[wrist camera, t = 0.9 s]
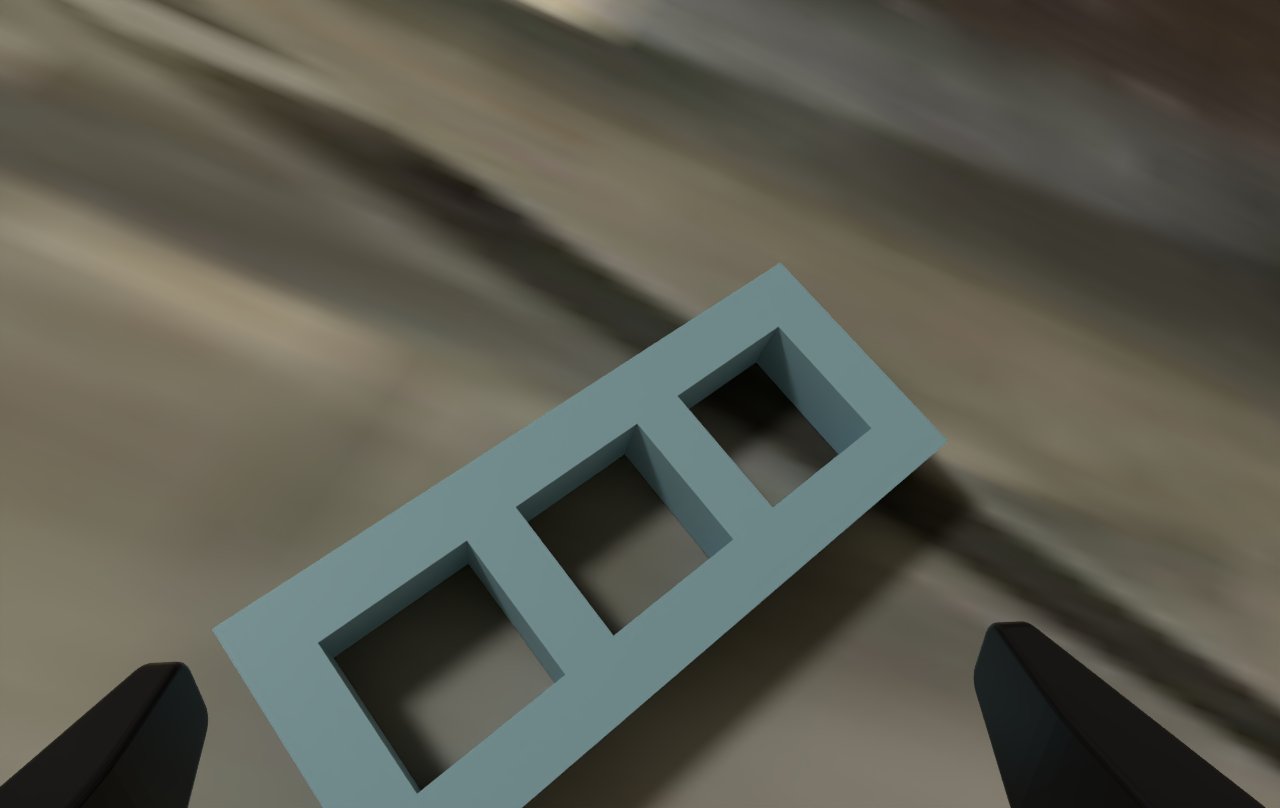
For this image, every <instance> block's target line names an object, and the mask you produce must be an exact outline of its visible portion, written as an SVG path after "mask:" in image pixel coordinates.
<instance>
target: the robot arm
mask: <svg viewBox="0 0 1280 808" xmlns="http://www.w3.org/2000/svg"><path fill="white" fill-rule="evenodd" d="M974 686H975V691H976V694H977V698H978V701H979V704H980V708H981V711H982V714H983V718H984V721H985V724H986V728H987V731H988V734H989V738H990V741H991V744H992V748H993V751H994V754H995V758H996V761H997V764H998V768H999V771H1000V774H1001V778H1002V781H1003V784H1004V788H1005V791H1006V794H1007V798H1008V801H1009V804H1010V807H1011V808H1265V807H1264V806H1263V805H1262V804H1260V803H1259V802H1258V801H1257V800H1255V799H1254V798H1253V797H1251V796H1250V795H1249V794H1248V793H1246V792H1245V791H1244V790H1243V789H1241V788H1240V787H1239V786H1237V785H1236V784H1235V783H1234V782H1232V781H1231V780H1230V779H1228V778H1227V777H1226V776H1225V775H1223V774H1222V773H1221V772H1220V771H1218V770H1217V769H1216V768H1214V767H1213V766H1212V765H1211V764H1209V763H1208V762H1207V761H1205V760H1204V759H1203V758H1202V757H1200V756H1199V755H1198V754H1197V753H1195V752H1194V751H1193V750H1191V749H1190V748H1189V747H1188V746H1186V745H1185V744H1184V743H1183V742H1181V741H1180V740H1179V739H1177V738H1176V737H1175V736H1174V735H1172V734H1171V733H1170V732H1168V731H1167V730H1166V729H1165V728H1163V727H1162V726H1161V725H1160V724H1158V723H1157V722H1156V721H1154V720H1153V719H1152V718H1151V717H1149V716H1148V715H1147V714H1145V713H1144V712H1143V711H1142V710H1140V709H1139V708H1138V707H1137V706H1135V705H1134V704H1133V703H1131V702H1130V701H1129V700H1128V699H1126V698H1125V697H1124V696H1122V695H1121V694H1120V693H1119V692H1117V691H1116V690H1115V689H1114V688H1112V687H1111V686H1110V685H1108V684H1107V683H1106V682H1105V681H1103V680H1102V679H1101V678H1100V677H1098V676H1097V675H1096V674H1094V673H1093V672H1092V671H1091V670H1089V669H1088V668H1087V667H1085V666H1084V665H1083V664H1082V663H1080V662H1079V661H1078V660H1077V659H1075V658H1074V657H1073V656H1071V655H1070V654H1069V653H1068V652H1066V651H1065V650H1064V649H1062V648H1061V647H1060V646H1059V645H1057V644H1056V643H1055V642H1054V641H1052V640H1051V639H1050V638H1048V637H1047V636H1046V635H1045V634H1043V633H1042V632H1041V631H1040V630H1038V629H1037V628H1036V627H1034V626H1033V625H1031V624H1029V623H1027V622H1020V621H1019V622H998V623H993V624H992V625H991V626H990V627H989V628H988V629H987V632H986V634H985V637H984V641H983V644H982V647H981V650H980V653H979V656H978V659H977V662H976V665H975V669H974ZM207 727H208V713H207V708H206V705H205V703H204V701H203V699H202V696H201V694H200V692H199V689H198V687H197V685H196V683H195V680H194V678H193V676H192V673H191V671H190V669H189V668H188V666H187V665H185V664H184V663H182V662H162V663H149V664H146V665H143V666H141V667H140V668H138V669H137V670H135V671H134V672H133V673H132V674H131V675H130V676H128V677H127V678H126V679H125V680H124V681H123V682H121V683H120V684H119V685H118V686H117V687H116V688H114V689H113V690H112V691H111V692H110V693H109V694H107V695H106V696H105V697H104V698H103V699H102V700H100V701H99V702H98V703H97V704H96V705H95V706H94V707H92V708H91V709H90V710H89V711H88V712H87V713H85V714H84V715H83V716H82V717H81V718H80V719H78V720H77V721H76V722H75V723H74V724H73V725H71V726H70V727H69V728H68V729H67V730H66V731H64V732H63V733H62V734H61V735H60V736H59V737H57V738H56V739H55V740H54V741H53V742H52V743H50V744H49V745H48V746H47V747H46V748H45V749H43V750H42V751H41V752H40V753H39V754H38V755H37V756H35V757H34V758H33V759H32V760H31V761H30V762H28V763H27V764H26V765H25V766H24V767H23V768H21V769H20V770H19V771H18V772H17V773H16V774H14V775H13V776H12V777H11V778H10V779H9V780H7V781H6V782H5V783H4V784H3V785H2V786H0V808H188V805H189V801H190V797H191V793H192V789H193V785H194V781H195V777H196V773H197V769H198V765H199V761H200V757H201V753H202V749H203V745H204V741H205V737H206V732H207Z"/></svg>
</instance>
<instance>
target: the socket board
mask: <svg viewBox="0 0 1280 808" xmlns="http://www.w3.org/2000/svg"><path fill="white" fill-rule="evenodd" d="M754 363H757V364H758V365H759V366H760V367H761V369H762V370H763V371H764V372H765V373H766V374H767V375H768V376H769V377H770V379H771V380H772V381H773V382H774V383H775V384H776V385H777V386H778V388H779V389H780V390H781V391H782V392H783V393H784V394H785V395H786V397H787V398H788V399H789V400H790V401H791V402H792V403H793V404H794V405H795V407H796V408H797V409H798V410H799V411H800V412H801V413H802V414H803V416H804V417H805V418H806V419H807V420H808V421H809V422H810V423H811V424H812V426H813V427H814V428H815V429H816V430H817V431H818V432H819V433H820V435H821V436H822V437H823V438H824V439H825V440H826V441H827V442H828V444H829V445H830V446H831V447H832V448H833V449H834V450H835V451H836V452H837V454H838V456H837V457H835V458H834V459H833V460H832V461H830V462H829V463H828V464H827V465H825V466H824V467H823V468H822V469H820V470H819V471H818V472H817V473H815V474H814V475H813V476H812V477H810V478H809V479H808V480H807V481H805V482H804V483H803V484H802V485H801V486H799V487H798V488H797V489H796V490H794V491H793V492H792V493H791V494H789V495H788V496H787V497H786V498H784V499H783V500H782V501H781V502H779V503H778V504H777V505H776V506H774V507H772V506H771V505H770V504H769V503H768V502H767V500H766V499H765V498H764V497H763V496H762V495H761V493H760V492H759V491H758V490H757V489H756V487H755V486H754V485H753V484H752V483H751V482H750V480H749V479H748V478H747V477H746V476H745V475H744V473H743V472H742V471H741V470H740V469H739V468H738V466H737V465H736V464H735V463H734V462H733V461H732V459H731V458H730V457H729V456H728V455H727V453H726V452H725V451H724V450H723V449H722V448H721V446H720V445H719V444H718V443H717V442H716V441H715V439H714V438H713V437H712V436H711V435H710V434H709V432H708V431H707V430H706V429H705V428H704V427H703V425H702V424H701V423H700V422H699V421H698V419H697V418H696V417H695V416H694V415H693V414H692V412H691V411H690V410H689V409H690V408H691V407H693V406H694V405H696V404H697V403H699V402H700V401H701V400H703V399H704V398H706V397H707V396H709V395H710V394H711V393H713V392H714V391H716V390H717V389H719V388H720V387H721V386H723V385H724V384H726V383H727V382H729V381H730V380H731V379H733V378H734V377H736V376H737V375H739V374H740V373H741V372H743V371H744V370H746V369H747V368H749V367H750V366H751V365H753V364H754ZM947 442H948V441H947V439H946V438H945V437H944V436H943V435H942V434H941V433H940V432H939V431H938V430H937V429H936V428H935V427H934V426H933V425H932V423H931V422H930V421H929V420H928V419H927V418H926V417H925V416H924V415H923V414H922V413H921V412H920V411H919V410H918V409H917V407H916V406H915V405H914V404H913V403H912V402H911V401H910V400H909V399H908V398H907V397H906V396H905V395H904V394H903V393H902V392H901V390H900V389H899V388H898V387H897V386H896V385H895V384H894V383H893V382H892V381H891V380H890V379H889V378H888V377H887V376H886V374H885V373H884V372H883V371H882V370H881V369H880V368H879V367H878V366H877V365H876V364H875V363H874V362H873V361H872V360H871V359H870V357H869V356H868V355H867V354H866V353H865V352H864V351H863V350H862V349H861V348H860V347H859V346H858V345H857V344H856V343H855V341H854V340H853V339H852V338H851V337H850V336H849V335H848V334H847V333H846V332H845V331H844V330H843V329H842V328H841V327H840V326H839V324H838V323H837V322H836V321H835V320H834V319H833V318H832V317H831V316H830V315H829V314H828V313H827V312H826V311H825V310H824V308H823V307H822V306H821V305H820V304H819V303H818V302H817V301H816V300H815V299H814V298H813V297H812V296H811V295H810V294H809V292H808V291H807V290H806V289H805V288H804V287H803V286H802V285H801V284H800V283H799V282H798V281H797V280H796V279H795V278H794V277H793V275H792V274H791V273H790V272H789V271H788V270H787V269H786V268H785V267H784V266H783V265H782V264H781V263H779V264H777V265H776V266H774V267H773V268H771V269H769V270H768V271H766V272H765V273H763V274H762V275H760V276H759V277H757V278H756V279H754V280H752V281H751V282H749V283H748V284H746V285H745V286H743V287H742V288H740V289H738V290H737V291H735V292H734V293H732V294H731V295H729V296H728V297H726V298H725V299H723V300H721V301H720V302H718V303H717V304H715V305H714V306H712V307H711V308H709V309H707V310H706V311H704V312H703V313H701V314H700V315H698V316H697V317H695V318H694V319H692V320H690V321H689V322H687V323H686V324H684V325H683V326H681V327H680V328H678V329H676V330H675V331H673V332H672V333H670V334H669V335H667V336H666V337H664V338H663V339H661V340H659V341H658V342H656V343H655V344H653V345H652V346H650V347H649V348H647V349H645V350H644V351H642V352H641V353H639V354H638V355H636V356H635V357H633V358H632V359H630V360H628V361H627V362H625V363H624V364H622V365H621V366H619V367H618V368H616V369H614V370H613V371H611V372H610V373H608V374H607V375H605V376H604V377H602V378H601V379H599V380H597V381H596V382H594V383H593V384H591V385H590V386H588V387H587V388H585V389H583V390H582V391H580V392H579V393H577V394H576V395H574V396H573V397H571V398H570V399H568V400H566V401H565V402H563V403H562V404H560V405H559V406H557V407H556V408H554V409H552V410H551V411H549V412H548V413H546V414H545V415H543V416H542V417H540V418H539V419H537V420H535V421H534V422H532V423H531V424H529V425H528V426H526V427H525V428H523V429H521V430H520V431H518V432H517V433H515V434H514V435H512V436H511V437H509V438H508V439H506V440H504V441H503V442H501V443H500V444H498V445H497V446H495V447H494V448H492V449H490V450H489V451H487V452H486V453H484V454H483V455H481V456H480V457H478V458H477V459H475V460H473V461H472V462H470V463H469V464H467V465H466V466H464V467H463V468H461V469H459V470H458V471H456V472H455V473H453V474H452V475H450V476H449V477H447V478H446V479H444V480H442V481H441V482H439V483H438V484H436V485H435V486H433V487H432V488H430V489H428V490H427V491H425V492H424V493H422V494H421V495H419V496H418V497H416V498H415V499H413V500H411V501H410V502H408V503H407V504H405V505H404V506H402V507H401V508H399V509H397V510H396V511H394V512H393V513H391V514H390V515H388V516H387V517H385V518H384V519H382V520H380V521H379V522H377V523H376V524H374V525H373V526H371V527H370V528H368V529H366V530H365V531H363V532H362V533H360V534H359V535H357V536H356V537H354V538H353V539H351V540H349V541H348V542H346V543H345V544H343V545H342V546H340V547H339V548H337V549H335V550H334V551H332V552H331V553H329V554H328V555H326V556H325V557H323V558H322V559H320V560H318V561H317V562H315V563H314V564H312V565H311V566H309V567H308V568H306V569H304V570H303V571H301V572H300V573H298V574H297V575H295V576H294V577H292V578H291V579H289V580H287V581H286V582H284V583H283V584H281V585H280V586H278V587H277V588H275V589H273V590H272V591H270V592H269V593H267V594H266V595H264V596H263V597H261V598H260V599H258V600H256V601H255V602H253V603H252V604H250V605H249V606H247V607H246V608H244V609H242V610H241V611H239V612H238V613H236V614H235V615H233V616H232V617H230V618H229V619H227V620H225V621H224V622H222V623H221V624H219V625H218V626H216V627H215V628H213V629H212V630H213V632H214V634H215V635H216V637H217V638H218V640H219V642H220V643H221V645H222V646H223V648H224V650H225V651H226V653H227V654H228V656H229V658H230V659H231V661H232V662H233V664H234V666H235V667H236V669H237V671H238V672H239V674H240V675H241V677H242V679H243V680H244V682H245V683H246V685H247V687H248V688H249V690H250V691H251V693H252V695H253V696H254V698H255V699H256V701H257V703H258V704H259V706H260V707H261V709H262V711H263V712H264V714H265V716H266V717H267V719H268V720H269V722H270V724H271V725H272V727H273V728H274V730H275V732H276V733H277V735H278V736H279V738H280V740H281V741H282V743H283V744H284V746H285V748H286V749H287V751H288V752H289V754H290V756H291V757H292V759H293V761H294V762H295V764H296V765H297V767H298V769H299V770H300V772H301V773H302V775H303V777H304V778H305V780H306V781H307V783H308V785H309V786H310V788H311V789H312V791H313V793H314V794H315V796H316V798H317V799H318V801H319V802H320V804H321V806H322V807H323V808H522V807H523V806H524V805H526V804H527V803H528V802H529V801H530V800H531V799H533V798H534V797H535V796H536V795H537V794H538V793H540V792H541V791H542V790H543V789H544V788H545V787H546V786H548V785H549V784H550V783H551V782H552V781H553V780H555V779H556V778H557V777H558V776H559V775H560V774H562V773H563V772H564V771H565V770H566V769H567V768H569V767H570V766H571V765H572V764H573V763H574V762H576V761H577V760H578V759H579V758H580V757H581V756H583V755H584V754H585V753H586V752H587V751H588V750H590V749H591V748H592V747H593V746H594V745H595V744H597V743H598V742H599V741H600V740H601V739H602V738H603V737H605V736H606V735H607V734H608V733H609V732H610V731H612V730H613V729H614V728H615V727H616V726H617V725H619V724H620V723H621V722H622V721H623V720H624V719H626V718H627V717H628V716H629V715H630V714H631V713H633V712H634V711H635V710H636V709H637V708H638V707H640V706H641V705H642V704H643V703H644V702H645V701H647V700H648V699H649V698H650V697H651V696H652V695H654V694H655V693H656V692H657V691H658V690H659V689H660V688H662V687H663V686H664V685H665V684H666V683H667V682H669V681H670V680H671V679H672V678H673V677H674V676H676V675H677V674H678V673H679V672H680V671H681V670H683V669H684V668H685V667H686V666H687V665H688V664H690V663H691V662H692V661H693V660H694V659H695V658H697V657H698V656H699V655H700V654H701V653H702V652H704V651H705V650H706V649H707V648H708V647H709V646H711V645H712V644H713V643H714V642H715V641H716V640H717V639H719V638H720V637H721V636H722V635H723V634H724V633H726V632H727V631H728V630H729V629H730V628H731V627H733V626H734V625H735V624H736V623H737V622H738V621H740V620H741V619H742V618H743V617H744V616H745V615H747V614H748V613H749V612H750V611H751V610H752V609H754V608H755V607H756V606H757V605H758V604H759V603H761V602H762V601H763V600H764V599H765V598H766V597H767V596H769V595H770V594H771V593H772V592H773V591H774V590H776V589H777V588H778V587H779V586H780V585H781V584H783V583H784V582H785V581H786V580H787V579H788V578H790V577H791V576H792V575H793V574H794V573H795V572H797V571H798V570H799V569H800V568H801V567H802V566H804V565H805V564H806V563H807V562H808V561H809V560H811V559H812V558H813V557H814V556H815V555H816V554H818V553H819V552H820V551H821V550H822V549H823V548H824V547H826V546H827V545H828V544H829V543H830V542H831V541H833V540H834V539H835V538H836V537H837V536H838V535H840V534H841V533H842V532H843V531H844V530H845V529H847V528H848V527H849V526H850V525H851V524H852V523H854V522H855V521H856V520H857V519H858V518H859V517H861V516H862V515H863V514H864V513H865V512H866V511H868V510H869V509H870V508H871V507H872V506H873V505H875V504H876V503H877V502H878V501H879V500H880V499H881V498H883V497H884V496H885V495H886V494H887V493H888V492H890V491H891V490H892V489H893V488H894V487H895V486H897V485H898V484H899V483H900V482H901V481H902V480H904V479H905V478H906V477H907V476H908V475H909V474H911V473H912V472H913V471H914V470H915V469H916V468H918V467H919V466H920V465H921V464H922V463H923V462H925V461H926V460H927V459H928V458H929V457H930V456H932V455H933V454H934V453H935V452H936V451H937V450H938V449H940V448H941V447H942V446H943V445H944V444H945V443H947ZM624 454H625V456H626V457H627V458H628V459H629V461H630V462H631V463H632V464H633V465H634V467H635V468H636V469H637V470H638V472H639V473H640V474H641V475H642V476H643V478H644V479H645V480H646V481H647V483H648V484H649V485H650V486H651V488H652V489H653V490H654V491H655V492H656V494H657V495H658V496H659V497H660V499H661V500H662V501H663V502H664V503H665V505H666V506H667V507H668V508H669V510H670V511H671V512H672V513H673V515H674V516H675V517H676V518H677V519H678V521H679V522H680V523H681V524H682V526H683V527H684V528H685V529H686V530H687V532H688V533H689V534H690V535H691V537H692V538H693V539H694V540H695V542H696V543H697V544H698V545H699V546H700V548H701V549H702V550H703V551H704V553H705V554H706V555H707V556H708V557H709V559H708V560H707V561H706V562H705V563H704V564H702V565H701V566H700V567H699V568H697V569H696V570H695V571H694V572H692V573H691V574H690V575H689V576H687V577H686V578H685V579H684V580H682V581H681V582H680V583H679V584H677V585H676V586H675V587H674V588H672V589H671V590H670V591H669V592H667V593H666V594H665V595H664V596H662V597H661V598H660V599H659V600H658V601H656V602H655V603H654V604H653V605H651V606H650V607H649V608H648V609H646V610H645V611H644V612H643V613H641V614H640V615H639V616H638V617H636V618H635V619H634V620H633V621H631V622H630V623H629V624H628V625H626V626H625V627H624V628H623V629H621V630H620V631H619V632H618V633H616V634H615V635H614V636H613V634H612V633H611V632H610V630H609V629H608V628H607V627H606V625H605V624H604V623H603V621H602V620H601V619H600V617H599V616H598V615H597V613H596V612H595V611H594V609H593V608H592V607H591V605H590V604H589V603H588V601H587V600H586V599H585V598H584V596H583V595H582V594H581V592H580V591H579V590H578V588H577V587H576V586H575V584H574V583H573V582H572V580H571V579H570V578H569V576H568V575H567V574H566V573H565V571H564V570H563V569H562V567H561V566H560V565H559V563H558V562H557V561H556V559H555V558H554V557H553V555H552V554H551V553H550V551H549V550H548V549H547V548H546V546H545V545H544V544H543V542H542V541H541V540H540V538H539V537H538V536H537V534H536V533H535V532H534V530H533V529H532V528H531V526H530V525H529V524H528V523H527V522H529V521H530V520H531V519H533V518H534V517H536V516H537V515H539V514H540V513H541V512H543V511H544V510H546V509H547V508H549V507H550V506H551V505H553V504H554V503H556V502H557V501H559V500H560V499H561V498H563V497H564V496H566V495H567V494H569V493H570V492H571V491H573V490H574V489H576V488H577V487H579V486H580V485H581V484H583V483H584V482H586V481H587V480H589V479H590V478H591V477H593V476H594V475H596V474H597V473H599V472H600V471H601V470H603V469H604V468H606V467H607V466H609V465H610V464H611V463H613V462H614V461H616V460H617V459H619V458H620V457H621V456H623V455H624ZM467 564H469V565H470V567H471V568H472V570H473V571H474V572H475V574H476V575H477V576H478V578H479V579H480V581H481V582H482V583H483V585H484V586H485V587H486V589H487V590H488V592H489V593H490V594H491V596H492V597H493V598H494V600H495V601H496V602H497V604H498V605H499V607H500V608H501V609H502V611H503V612H504V613H505V615H506V616H507V618H508V619H509V620H510V622H511V623H512V624H513V626H514V627H515V629H516V630H517V631H518V633H519V634H520V635H521V637H522V638H523V640H524V641H525V642H526V644H527V645H528V646H529V648H530V649H531V651H532V652H533V653H534V655H535V656H536V657H537V659H538V660H539V662H540V663H541V664H542V666H543V667H544V668H545V670H546V671H547V673H548V674H549V675H550V677H551V678H552V679H553V681H554V682H555V683H554V684H553V685H552V686H551V687H549V688H548V689H547V690H546V691H544V692H543V693H542V694H541V695H539V696H538V697H537V698H536V699H534V700H533V701H532V702H531V703H529V704H528V705H527V706H526V707H524V708H523V709H522V710H521V711H519V712H518V713H517V714H516V715H514V716H513V717H512V718H511V719H510V720H508V721H507V722H506V723H505V724H503V725H502V726H501V727H500V728H498V729H497V730H496V731H495V732H493V733H492V734H491V735H490V736H488V737H487V738H486V739H485V740H483V741H482V742H481V743H480V744H478V745H477V746H476V747H475V748H473V749H472V750H471V751H470V752H468V753H467V754H466V755H465V756H463V757H462V758H461V759H460V760H459V761H457V762H456V763H455V764H454V765H452V766H451V767H450V768H449V769H447V770H446V771H445V772H444V773H442V774H441V775H440V776H439V777H437V778H436V779H435V780H434V781H432V782H431V783H430V784H429V785H427V786H426V787H425V788H424V789H422V790H420V788H419V787H418V785H417V784H416V782H415V781H414V779H413V778H412V776H411V775H410V773H409V772H408V770H407V769H406V767H405V766H404V764H403V763H402V761H401V760H400V758H399V756H398V755H397V753H396V752H395V750H394V749H393V747H392V746H391V744H390V743H389V741H388V740H387V738H386V737H385V735H384V734H383V732H382V731H381V729H380V728H379V726H378V725H377V723H376V722H375V720H374V718H373V717H372V715H371V714H370V712H369V711H368V709H367V708H366V706H365V705H364V703H363V702H362V700H361V699H360V697H359V696H358V694H357V693H356V691H355V690H354V688H353V687H352V685H351V684H350V682H349V680H348V679H347V677H346V676H345V674H344V673H343V671H342V670H341V668H340V667H339V665H338V664H337V662H336V661H335V659H334V657H336V656H337V655H339V654H340V653H341V652H343V651H344V650H346V649H347V648H349V647H350V646H351V645H353V644H354V643H356V642H357V641H359V640H360V639H361V638H363V637H364V636H366V635H367V634H369V633H370V632H371V631H373V630H374V629H376V628H377V627H379V626H380V625H381V624H383V623H384V622H386V621H387V620H389V619H390V618H391V617H393V616H394V615H396V614H397V613H399V612H400V611H401V610H403V609H404V608H406V607H407V606H409V605H410V604H411V603H413V602H414V601H416V600H417V599H419V598H420V597H421V596H423V595H424V594H426V593H427V592H429V591H430V590H431V589H433V588H434V587H436V586H437V585H439V584H440V583H441V582H443V581H444V580H446V579H447V578H449V577H450V576H451V575H453V574H454V573H456V572H457V571H459V570H460V569H461V568H463V567H464V566H466V565H467Z"/></svg>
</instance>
